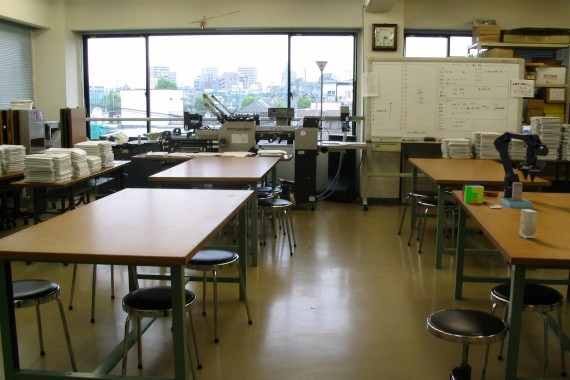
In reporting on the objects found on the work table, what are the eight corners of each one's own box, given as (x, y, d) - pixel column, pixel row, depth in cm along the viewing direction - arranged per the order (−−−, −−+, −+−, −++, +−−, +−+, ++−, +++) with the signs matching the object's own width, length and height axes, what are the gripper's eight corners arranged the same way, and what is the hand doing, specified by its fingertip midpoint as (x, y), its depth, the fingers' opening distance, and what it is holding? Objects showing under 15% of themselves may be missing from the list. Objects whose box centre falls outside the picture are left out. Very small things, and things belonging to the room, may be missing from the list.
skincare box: (518, 236, 249) (520, 208, 247) (527, 235, 250) (530, 208, 248) (525, 239, 243) (528, 211, 241) (535, 239, 243) (537, 211, 241)
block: (511, 203, 327) (513, 182, 325) (519, 204, 326) (521, 182, 324) (512, 204, 322) (514, 183, 321) (520, 205, 321) (522, 183, 320)
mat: (496, 203, 333) (496, 202, 333) (523, 204, 333) (523, 203, 333) (508, 209, 315) (508, 208, 315) (536, 209, 315) (536, 208, 315)
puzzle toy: (478, 201, 342) (479, 184, 340) (482, 203, 332) (483, 187, 330) (461, 200, 343) (462, 184, 341) (465, 203, 333) (466, 186, 331)
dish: (500, 203, 330) (501, 198, 330) (522, 204, 330) (522, 198, 330) (509, 207, 318) (509, 201, 318) (531, 207, 318) (532, 202, 318)
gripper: (551, 156, 326) (549, 183, 328) (537, 153, 344) (535, 179, 346) (532, 156, 326) (530, 182, 328) (519, 153, 344) (517, 179, 346)
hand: (529, 180), depth 337 cm, fingers open, 9 cm apart
